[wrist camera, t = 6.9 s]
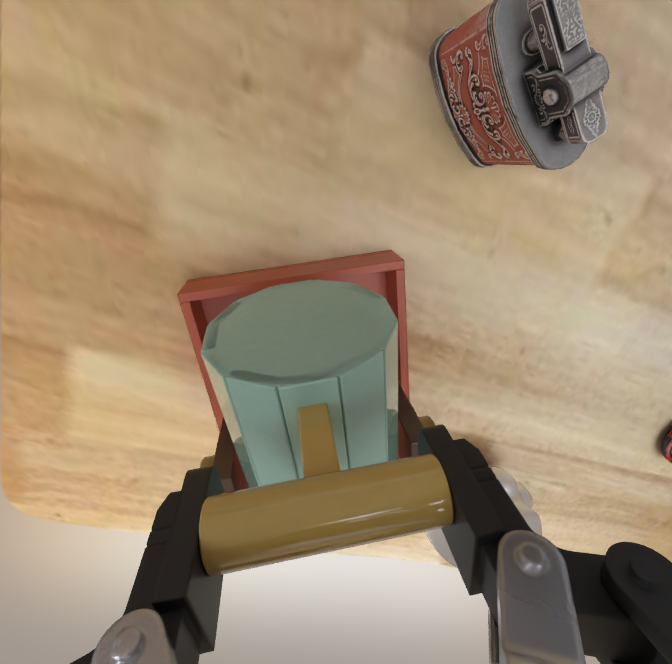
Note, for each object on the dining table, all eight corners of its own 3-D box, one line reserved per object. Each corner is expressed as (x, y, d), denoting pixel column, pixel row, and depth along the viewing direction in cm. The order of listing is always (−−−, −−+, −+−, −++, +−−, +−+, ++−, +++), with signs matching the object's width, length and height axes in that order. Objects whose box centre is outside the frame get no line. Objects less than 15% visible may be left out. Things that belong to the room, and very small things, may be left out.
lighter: (515, 147, 25) (649, 141, 16) (470, 178, 25) (576, 188, 16) (467, 16, 22) (602, -86, 13) (416, 53, 22) (512, -21, 13)
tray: (187, 280, 26) (176, 294, 23) (391, 249, 27) (404, 259, 24) (252, 501, 35) (250, 530, 32) (402, 472, 36) (413, 497, 33)
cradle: (221, 337, 28) (183, 460, 16) (379, 312, 29) (445, 411, 17) (239, 404, 30) (217, 550, 19) (383, 379, 31) (444, 503, 20)
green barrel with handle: (150, 547, 8) (253, 693, 13) (490, 478, 8) (454, 645, 14) (214, 294, 18) (258, 439, 23) (369, 270, 18) (376, 417, 24)
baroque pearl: (498, 498, 39) (564, 599, 30) (409, 516, 38) (450, 626, 29) (505, 429, 35) (583, 522, 26) (407, 448, 35) (453, 550, 26)
